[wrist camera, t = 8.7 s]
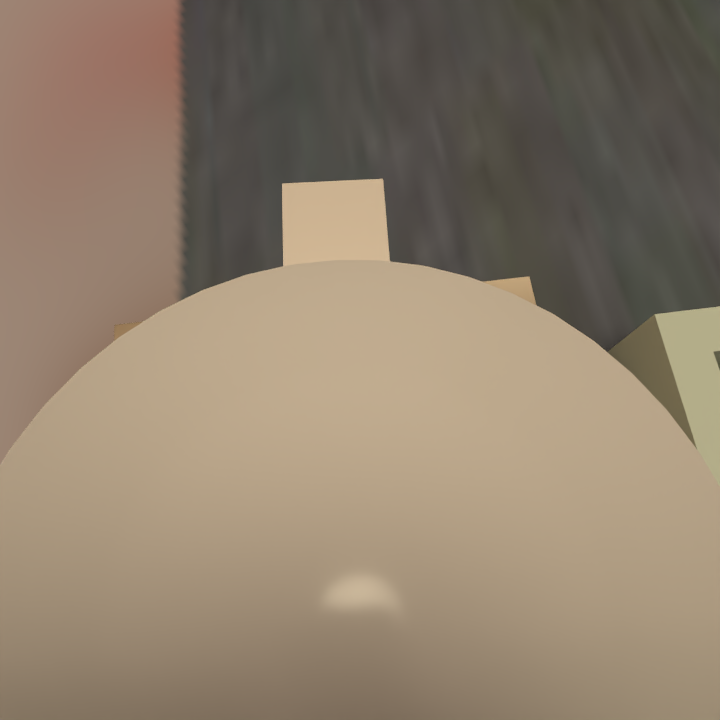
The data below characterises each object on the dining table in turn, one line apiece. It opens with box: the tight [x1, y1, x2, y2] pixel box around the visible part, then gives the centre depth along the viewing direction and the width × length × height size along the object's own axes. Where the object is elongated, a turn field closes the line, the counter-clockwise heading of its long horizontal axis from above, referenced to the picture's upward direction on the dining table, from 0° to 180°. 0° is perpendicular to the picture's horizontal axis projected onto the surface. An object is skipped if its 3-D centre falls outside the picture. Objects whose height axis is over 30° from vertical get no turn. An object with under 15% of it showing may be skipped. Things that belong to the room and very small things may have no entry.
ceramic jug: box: [0, 179, 720, 720], centre depth 9 cm, size 8×6×10 cm
